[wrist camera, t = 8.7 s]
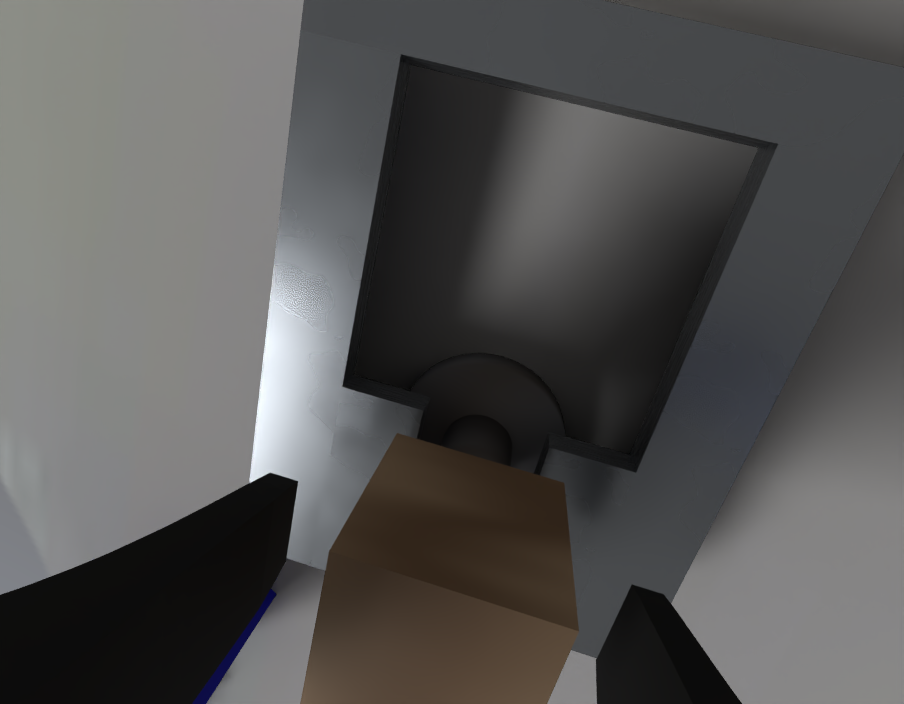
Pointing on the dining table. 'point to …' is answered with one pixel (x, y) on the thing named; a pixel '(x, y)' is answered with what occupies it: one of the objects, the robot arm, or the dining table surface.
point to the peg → (453, 555)
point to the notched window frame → (711, 316)
